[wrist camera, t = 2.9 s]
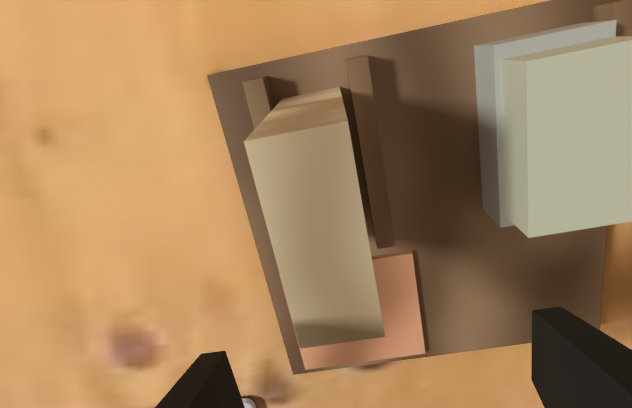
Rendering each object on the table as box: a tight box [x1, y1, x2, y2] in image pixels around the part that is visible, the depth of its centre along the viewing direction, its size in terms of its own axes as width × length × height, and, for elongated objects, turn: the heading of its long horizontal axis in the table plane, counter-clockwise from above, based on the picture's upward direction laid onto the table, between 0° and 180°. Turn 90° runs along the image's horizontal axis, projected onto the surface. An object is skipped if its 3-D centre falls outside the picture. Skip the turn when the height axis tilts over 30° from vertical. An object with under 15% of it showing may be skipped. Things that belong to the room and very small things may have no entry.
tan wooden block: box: [244, 87, 385, 349], centre depth 14 cm, size 2×6×8 cm, turn 11°
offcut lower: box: [474, 20, 617, 228], centre depth 16 cm, size 4×7×2 cm, turn 12°
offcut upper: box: [500, 36, 632, 238], centre depth 14 cm, size 4×6×2 cm, turn 12°
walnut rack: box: [207, 0, 632, 375], centre depth 18 cm, size 16×16×2 cm
